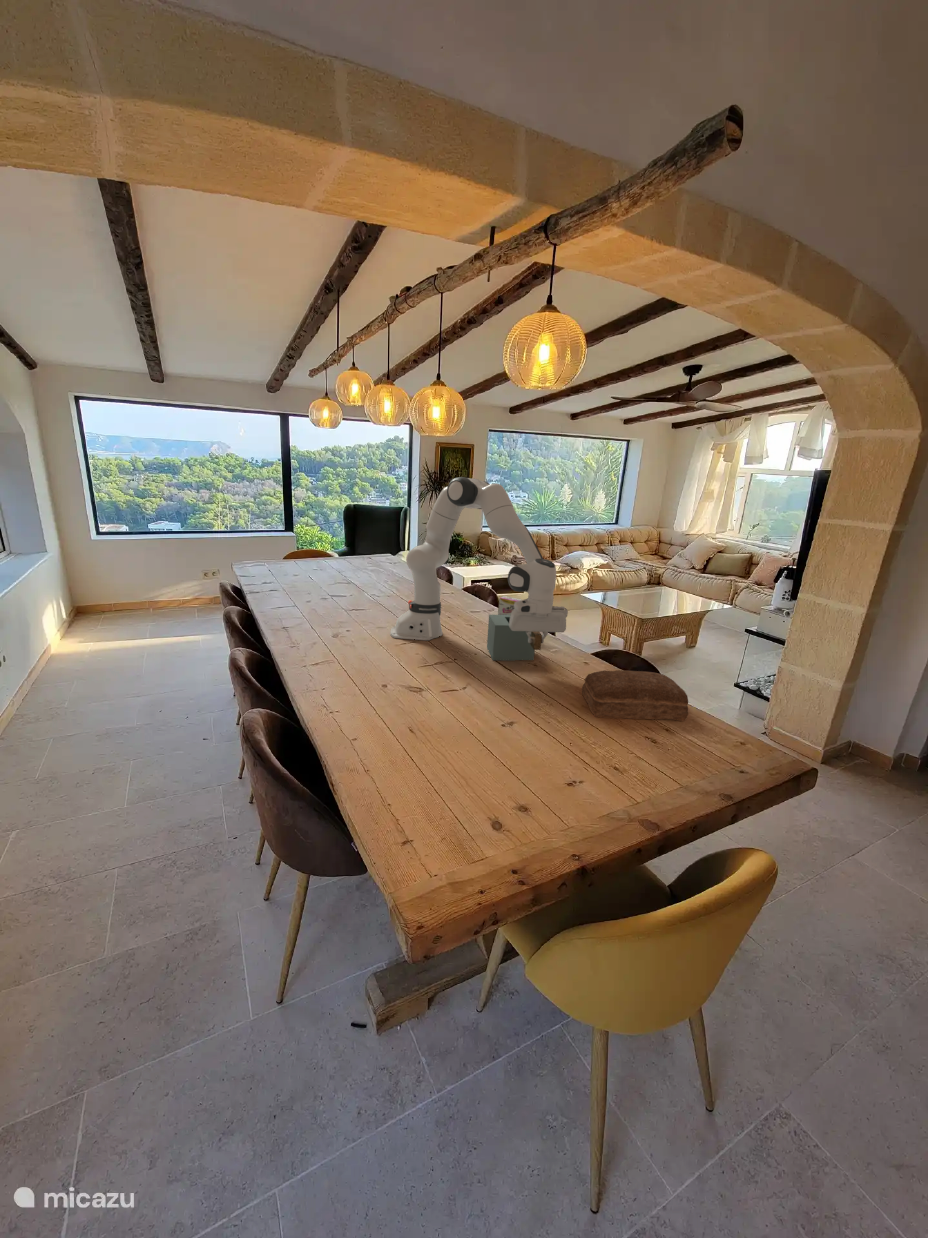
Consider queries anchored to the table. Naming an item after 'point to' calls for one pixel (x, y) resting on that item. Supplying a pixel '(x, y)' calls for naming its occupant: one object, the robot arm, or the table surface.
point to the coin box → (507, 640)
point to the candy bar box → (506, 605)
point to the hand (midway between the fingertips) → (535, 642)
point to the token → (536, 640)
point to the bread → (634, 695)
